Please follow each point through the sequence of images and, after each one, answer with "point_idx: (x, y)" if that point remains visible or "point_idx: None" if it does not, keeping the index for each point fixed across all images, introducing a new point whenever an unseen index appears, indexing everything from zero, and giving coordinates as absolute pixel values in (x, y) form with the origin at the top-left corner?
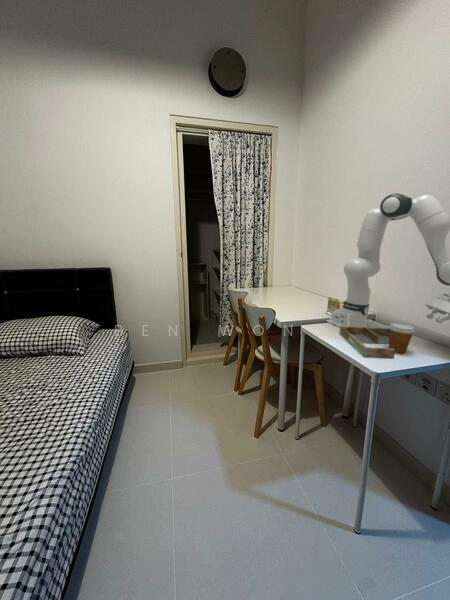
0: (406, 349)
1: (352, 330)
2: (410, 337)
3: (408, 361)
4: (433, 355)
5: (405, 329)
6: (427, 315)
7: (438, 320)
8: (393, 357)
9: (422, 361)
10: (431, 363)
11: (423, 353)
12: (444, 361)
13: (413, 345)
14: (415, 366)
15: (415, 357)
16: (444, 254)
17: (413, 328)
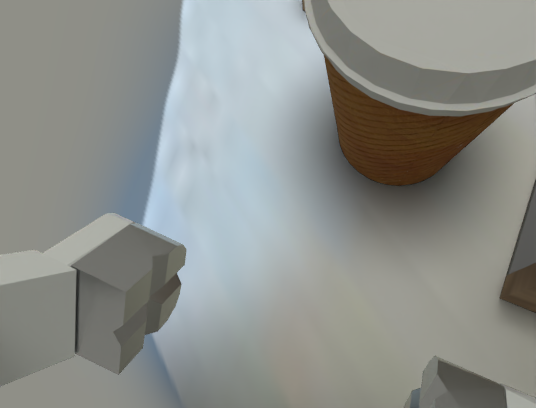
0: (341, 139)
1: None
2: (325, 61)
3: (240, 62)
4: (241, 346)
5: None
6: (498, 386)
7: (110, 215)
8: (303, 2)
9: (205, 149)
10: (163, 179)
11: (296, 301)
12: None
13: None
14: (180, 44)
15: (266, 162)
16: None
17: (329, 2)
